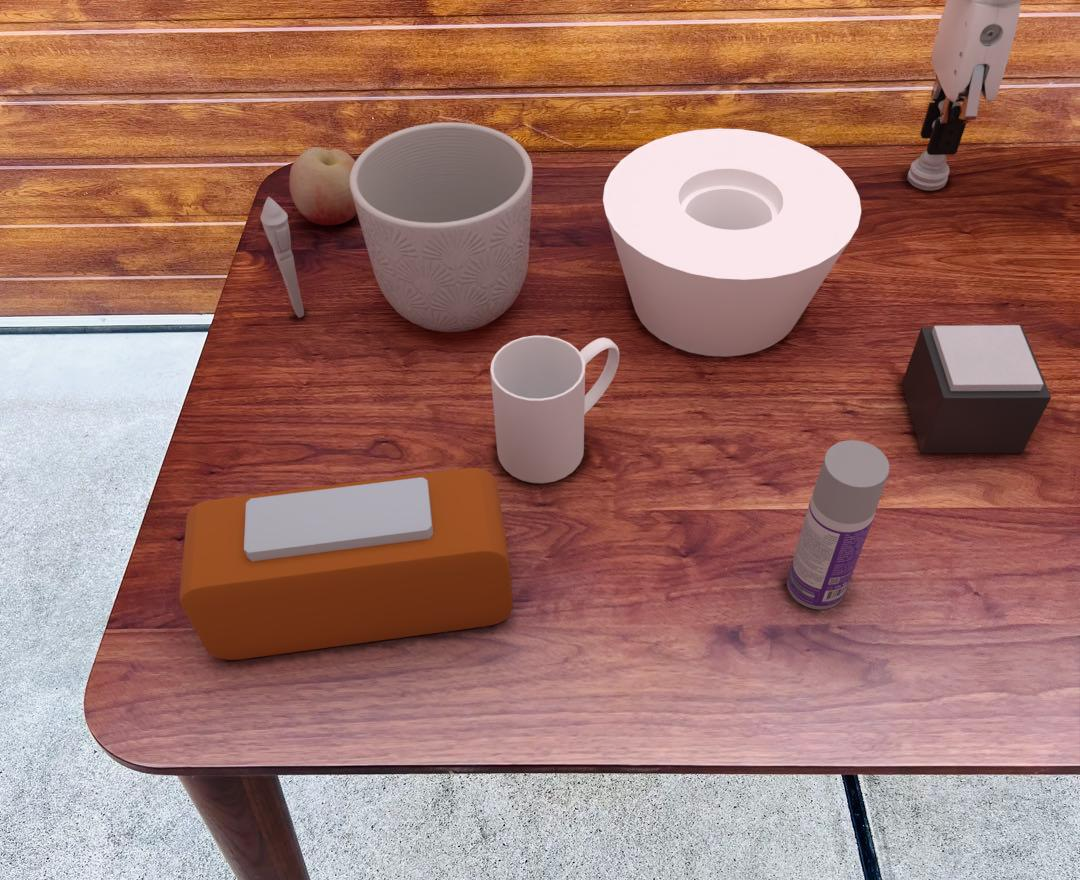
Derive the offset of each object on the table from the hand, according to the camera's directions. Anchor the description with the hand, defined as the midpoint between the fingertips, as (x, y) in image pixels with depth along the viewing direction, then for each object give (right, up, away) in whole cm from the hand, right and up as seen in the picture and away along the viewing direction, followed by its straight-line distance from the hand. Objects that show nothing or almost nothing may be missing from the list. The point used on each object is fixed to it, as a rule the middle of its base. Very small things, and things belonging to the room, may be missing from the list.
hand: (938, 143), depth 112 cm
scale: (-6, -33, -19) cm, 39 cm away
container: (-22, -48, -30) cm, 61 cm away
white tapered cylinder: (-26, -20, -8) cm, 34 cm away
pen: (-69, -21, -8) cm, 73 cm away
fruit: (-68, -8, +2) cm, 68 cm away
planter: (-53, -20, -7) cm, 57 cm away
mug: (-43, -35, -20) cm, 59 cm away
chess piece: (0, -3, +4) cm, 5 cm away
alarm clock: (-59, -49, -30) cm, 83 cm away
